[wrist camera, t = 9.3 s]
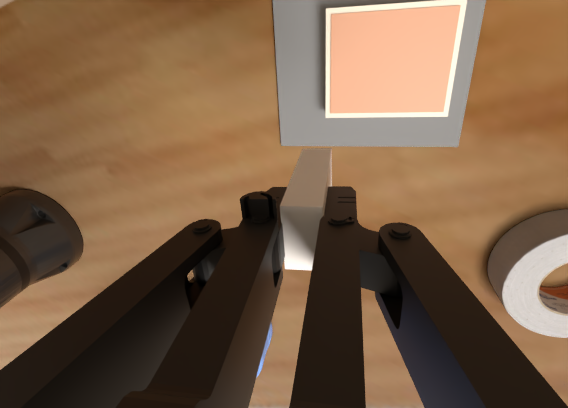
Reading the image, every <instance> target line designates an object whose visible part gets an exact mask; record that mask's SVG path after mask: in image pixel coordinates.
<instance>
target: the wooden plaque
mask: <svg viewBox="0 0 568 408" xmlns="http://www.w3.org/2000/svg"><path fill="white" fill-rule="evenodd" d="M466 5H467V0H435V1H421V2H407V3H394V4H380V5H367V6H353V7H339V8H326V118H368V117H448V112H449V106H450V100H451V94H452V88H453V82H454V76H455V70H456V64H457V58H458V52H459V46H460V40H461V35H462V29H463V23H464V17H465V11H466Z"/></svg>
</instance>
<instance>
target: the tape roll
mask: <svg viewBox="0 0 568 408" xmlns="http://www.w3.org/2000/svg"><path fill="white" fill-rule="evenodd" d="M565 264H568V209H563V210H555V211H550V212H546V213H542V214H539V215H536V216H534V217H531V218H529V219H527V220H525V221H523V222H521V223H519V224H518V225H516V226H515V227H513V228H512V229H510V230H509V231H508V232H507V233H506V234H504V235H503V236H502V238H501V239H500V240H499V241H498V242H497V244H496V245H495V247H494V248H493V250H492V252H491V254H490V257H489V261H488V270H487V271H488V276H489V280H490V282H491V284H492V286H493V288H494V290H495V292H496V293H497V295H498V297H499V299H500V300H501V302H502V304H503V306H504V307H505V309H506V311H507V312H508V313H509V315H510V316H511V317H512V318H513V319H514V320H515V321H517V322H518V323H519V324H520V325H522V326H523V327H525V328H527V329H529V330H531V331H534V332H536V333H539V334H543V335H547V336H552V337H561V338H568V285H565V286H560V287H542V286H540V285H541V283H542V281H543V280H544V279H545V277H546V276H547V275H548V274H549V273H551V272H552V271H553V270H555V269H557V268H558V267H560V266H563V265H565Z"/></svg>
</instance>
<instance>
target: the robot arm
mask: <svg viewBox="0 0 568 408" xmlns="http://www.w3.org/2000/svg"><path fill="white" fill-rule="evenodd" d="M240 204H241V211H242V217H243V219H242V221H241V223H240V225H239V226H238V227H235V228H230V229H223V230H221V225H220V223H219V222H218V221H216V220H211V219H202V220H198V221H196V222H193V223H191V224H189V225H188V226H186V227H185V228H184V229H183V230H181V231H180V232H179V233H177V234H176V235H175V236H173V237H172V238H171V239H170V240H168V241H167V242H166V243H164V244H163V245H162V246H160V247H159V248H158V249H157V250H155V251H154V252H153V253H151V254H150V255H149V256H148V257H146V258H145V259H144V260H142V261H141V262H140V263H138V264H137V265H136V266H135V267H133V268H132V269H131V270H129V271H128V272H127V273H126V274H124V275H123V276H122V277H120V278H119V279H118V280H116V281H115V282H114V283H113V284H111V285H110V286H109V287H107V288H106V289H105V290H103V291H102V292H101V293H100V294H98V295H97V296H96V297H94V298H93V299H92V300H91V301H89V302H88V303H87V304H85V305H84V306H83V307H81V308H80V309H79V310H78V311H76V312H75V313H74V314H72V315H71V316H70V317H69V318H67V319H66V320H65V321H63V322H62V323H61V324H59V325H58V326H57V327H56V328H54V329H53V330H52V331H50V332H49V333H48V334H47V335H45V336H44V337H43V338H41V339H40V340H39V341H37V342H36V343H35V344H34V345H32V346H31V347H30V348H28V349H27V350H26V351H24V352H23V353H22V354H21V355H19V356H18V357H17V358H15V359H14V360H13V361H12V362H10V363H9V364H8V365H6V366H5V367H4V368H2V369H1V370H0V408H248V406H249V402H250V399H251V395H252V391H253V387H254V384H255V380H256V376H257V372H258V369H259V365H260V361H261V357H262V354H263V350H264V346H265V342H266V339H267V335H268V331H269V327H270V324H271V320H272V316H273V312H274V309H275V305H276V301H277V297H278V294H279V290H280V286H281V282H282V279H283V271H282V264H283V261H284V262H285V269H296V270H312V273H311V279H310V285H309V291H308V297H307V303H306V310H305V316H304V322H303V328H302V334H301V341H300V347H299V353H298V359H297V365H296V372H295V378H294V384H293V390H292V396H291V402H290V407H289V408H366V404H365V379H364V355H363V331H362V306H361V287H362V288H365V289H369V290H372V291H375V297H376V300H377V302H378V304H379V306H380V309H381V311H382V313H383V315H384V318H385V320H386V322H387V324H388V327H389V329H390V331H391V333H392V336H393V338H394V340H395V342H396V344H397V347H398V349H399V351H400V353H401V356H402V358H403V360H404V362H405V365H406V367H407V369H408V371H409V374H410V376H411V378H412V380H413V382H414V385H415V387H416V389H417V391H418V394H419V396H420V398H421V400H422V403H423V405H424V407H425V408H568V406H567V405H566V404H565V403H564V402H563V400H562V399H561V398H560V397H559V396H558V394H557V393H556V392H555V391H554V390H553V388H552V387H551V386H550V385H549V384H548V382H547V381H546V380H545V379H544V378H543V376H542V375H541V374H540V373H539V372H538V371H537V369H536V368H535V367H534V366H533V365H532V363H531V362H530V361H529V360H528V359H527V357H526V356H525V355H524V354H523V353H522V351H521V350H520V349H519V348H518V347H517V345H516V344H515V343H514V342H513V341H512V340H511V338H510V337H509V336H508V335H507V334H506V332H505V331H504V330H503V329H502V328H501V326H500V325H499V324H498V323H497V322H496V320H495V319H494V318H493V317H492V316H491V314H490V313H489V312H488V311H487V310H486V308H485V307H484V306H483V305H482V304H481V303H480V301H479V300H478V299H477V298H476V297H475V295H474V294H473V293H472V292H471V291H470V289H469V288H468V287H467V286H466V285H465V283H464V282H463V281H462V280H461V279H460V277H459V276H458V275H457V274H456V273H455V272H454V270H453V269H452V268H451V267H450V266H449V264H448V263H447V262H446V261H445V260H444V258H443V257H442V256H441V255H440V254H439V252H438V251H437V250H436V249H435V248H434V246H433V245H432V244H431V243H430V242H429V241H428V239H427V238H426V237H425V236H424V235H423V233H422V232H421V231H420V230H419V229H417V228H416V227H414V226H412V225H409V224H406V223H390V224H386V225H384V226H382V227H381V228H380V230H379V232H376V231H372V230H368V229H366V228H364V227H362V226H361V225H360V224H359V223H358V220H357V209H356V191H355V190H354V189H353V188H352V187H333V186H332V148H321V149H302V152H301V154H300V157H299V159H298V162H297V164H296V167H295V169H294V172H293V174H292V177H291V179H290V182H289V184H288V187H272V188H270V189H269V190H268V191H266V192H263V191H260V192H252V193H248V194H246V195H244V196H242V197H241V198H240ZM82 252H83V240H82V236H81V233H80V231H79V229H78V227H77V225H76V223H75V222H74V220H73V219H72V218H71V216H70V215H69V214H68V213H67V212H66V211H65V210H64V209H63V208H62V207H61V206H60V205H59V204H57V203H56V202H55V201H53V200H52V199H50V198H48V197H47V196H45V195H43V194H40V193H38V192H35V191H31V190H24V189H20V190H14V191H11V192H9V193H7V194H5V195H3V196H0V308H1V307H2V306H4V305H5V304H6V303H7V302H9V301H10V300H11V299H12V298H14V297H15V296H16V295H17V294H19V293H20V292H21V291H22V290H24V289H25V288H26V287H28V286H29V285H31V284H34V283H36V282H39V281H41V280H44V279H46V278H49V277H51V276H54V275H57V274H59V273H62V272H64V271H65V270H67V269H68V268H70V267H71V266H72V265H73V264H75V263H76V262H77V261H78V260H79V259H80V257H81V255H82ZM191 270H193V274H194V277H193V278H192V279H191V280H190V281H189V280H188V278H187V275H188V273H189V272H190V271H191Z"/></svg>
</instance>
